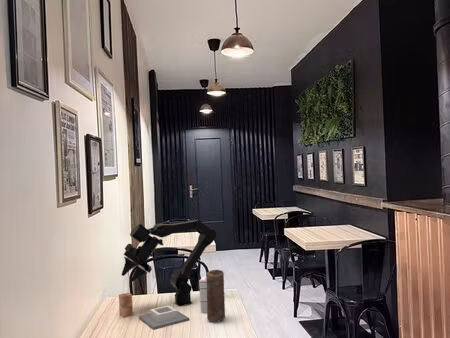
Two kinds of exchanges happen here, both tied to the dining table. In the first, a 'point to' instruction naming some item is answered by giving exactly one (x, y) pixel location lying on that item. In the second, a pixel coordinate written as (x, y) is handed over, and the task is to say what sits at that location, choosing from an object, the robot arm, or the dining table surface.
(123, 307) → the peg
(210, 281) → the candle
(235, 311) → the dining table surface
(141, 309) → the dining table surface
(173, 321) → the socket
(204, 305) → the syrup box
